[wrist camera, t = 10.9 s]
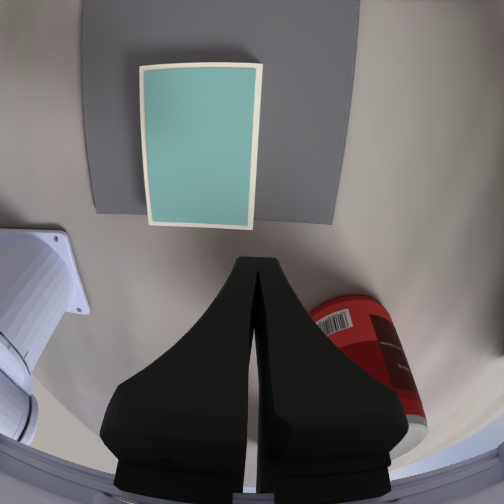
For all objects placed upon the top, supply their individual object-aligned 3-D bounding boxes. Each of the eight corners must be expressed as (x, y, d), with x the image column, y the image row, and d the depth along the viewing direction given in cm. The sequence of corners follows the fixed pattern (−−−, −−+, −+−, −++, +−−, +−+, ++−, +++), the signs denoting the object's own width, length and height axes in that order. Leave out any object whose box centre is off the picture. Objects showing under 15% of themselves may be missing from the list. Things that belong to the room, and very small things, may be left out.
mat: (99, 210, 19) (96, 213, 19) (87, -1, 12) (83, -2, 11) (330, 221, 19) (331, 224, 19) (358, -6, 12) (360, -8, 11)
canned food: (282, 351, 26) (287, 472, 17) (320, 281, 22) (348, 424, 13) (358, 362, 27) (381, 469, 18) (405, 301, 23) (453, 420, 14)
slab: (252, 231, 18) (148, 225, 18) (253, 218, 19) (155, 214, 19) (262, 63, 13) (138, 66, 13) (262, 64, 14) (148, 65, 14)
